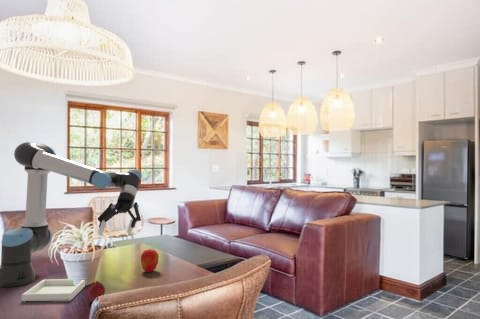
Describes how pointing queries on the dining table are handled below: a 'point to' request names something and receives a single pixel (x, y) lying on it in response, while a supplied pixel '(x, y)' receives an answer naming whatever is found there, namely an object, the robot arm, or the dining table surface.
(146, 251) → the apple
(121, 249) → the dining table surface
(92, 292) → the onion
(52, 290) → the dish
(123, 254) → the dining table surface
